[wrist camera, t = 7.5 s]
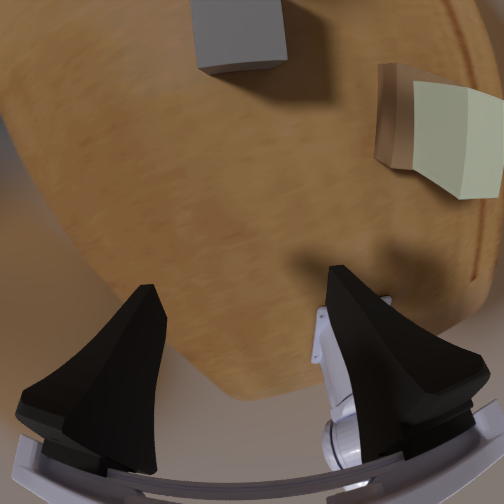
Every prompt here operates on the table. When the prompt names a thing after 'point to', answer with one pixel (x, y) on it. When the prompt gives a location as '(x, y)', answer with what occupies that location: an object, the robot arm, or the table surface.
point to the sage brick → (459, 139)
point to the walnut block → (398, 113)
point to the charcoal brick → (238, 35)
